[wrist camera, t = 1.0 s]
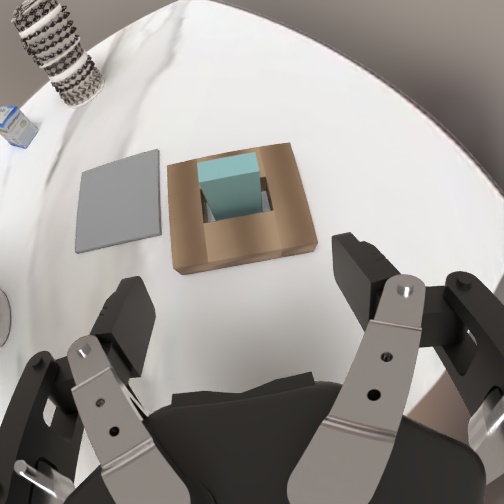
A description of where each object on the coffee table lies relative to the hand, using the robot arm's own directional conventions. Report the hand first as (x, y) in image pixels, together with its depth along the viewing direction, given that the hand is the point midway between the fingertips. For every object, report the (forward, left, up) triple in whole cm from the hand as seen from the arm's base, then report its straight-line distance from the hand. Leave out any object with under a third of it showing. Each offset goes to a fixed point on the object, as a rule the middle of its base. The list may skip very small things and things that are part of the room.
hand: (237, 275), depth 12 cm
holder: (0, +11, -18) cm, 21 cm away
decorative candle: (-25, +43, -18) cm, 53 cm away
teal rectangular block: (0, +11, -18) cm, 21 cm away
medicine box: (-40, +38, -18) cm, 58 cm away
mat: (-15, +16, -18) cm, 28 cm away
